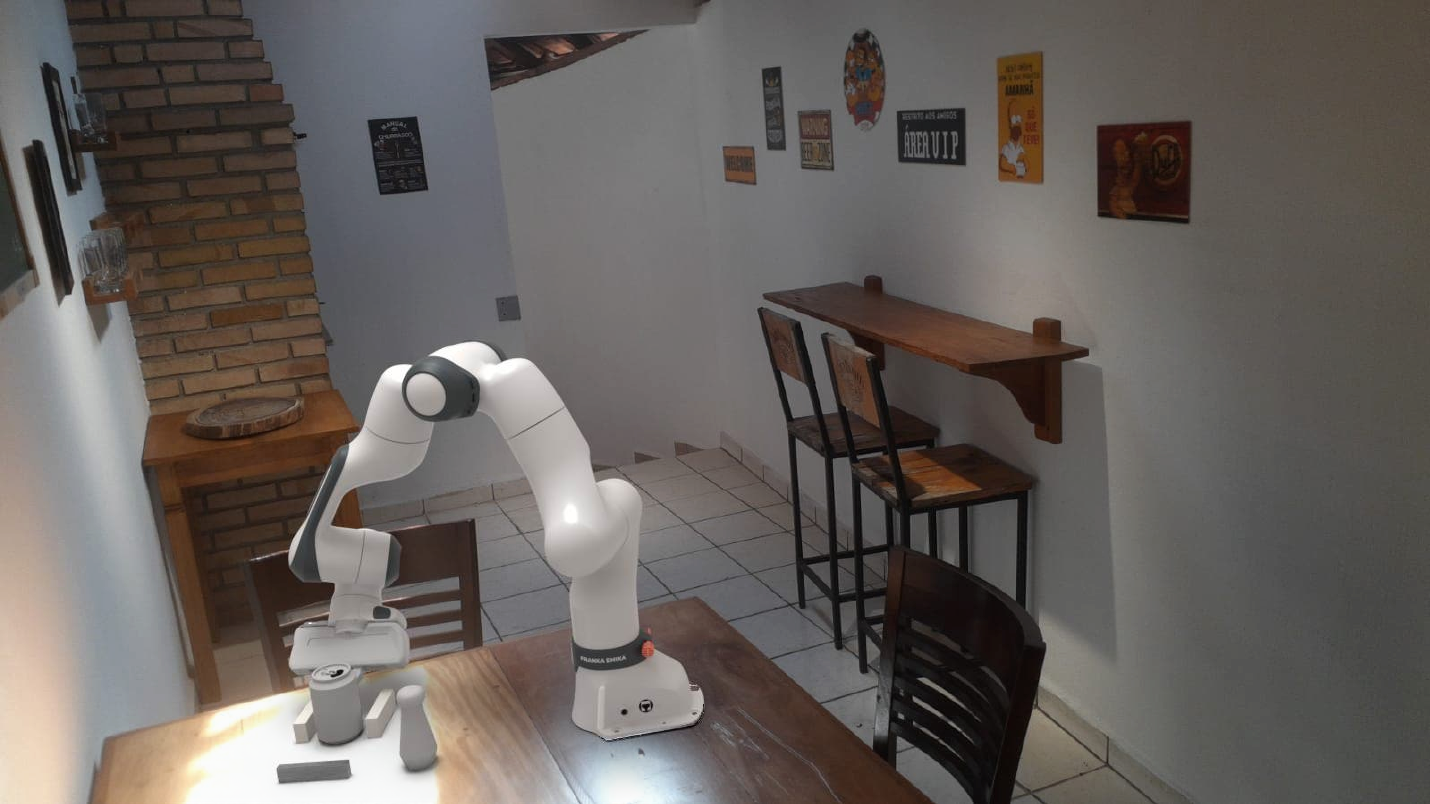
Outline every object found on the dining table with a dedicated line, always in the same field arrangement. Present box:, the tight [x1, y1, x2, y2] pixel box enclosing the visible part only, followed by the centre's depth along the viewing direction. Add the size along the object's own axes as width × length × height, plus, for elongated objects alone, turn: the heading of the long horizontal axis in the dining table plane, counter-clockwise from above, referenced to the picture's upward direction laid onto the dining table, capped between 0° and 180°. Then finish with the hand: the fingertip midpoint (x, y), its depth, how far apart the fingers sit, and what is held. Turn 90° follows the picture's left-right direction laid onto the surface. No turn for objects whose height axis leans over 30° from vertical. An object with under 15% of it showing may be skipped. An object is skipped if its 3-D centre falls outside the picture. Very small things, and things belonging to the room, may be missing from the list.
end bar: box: [276, 759, 352, 784], centre depth 169 cm, size 11×1×2 cm, turn 91°
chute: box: [292, 688, 397, 744], centre depth 185 cm, size 14×10×4 cm
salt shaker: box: [395, 684, 438, 771], centre depth 170 cm, size 6×6×13 cm
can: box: [308, 662, 365, 745], centre depth 181 cm, size 8×8×12 cm
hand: (345, 696), depth 185 cm, fingers closed, pressing on can
